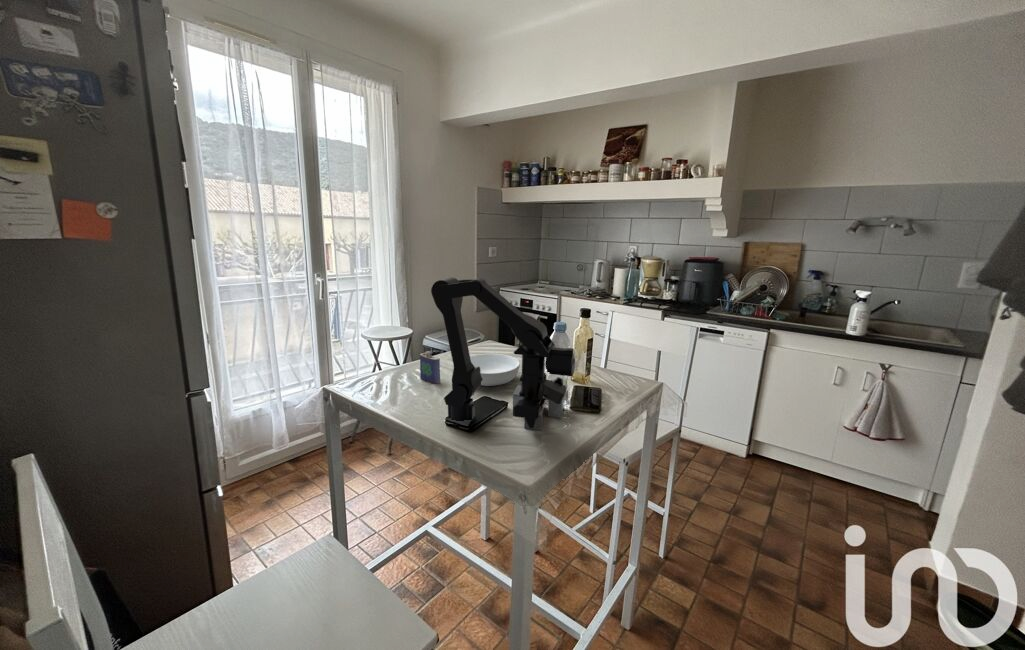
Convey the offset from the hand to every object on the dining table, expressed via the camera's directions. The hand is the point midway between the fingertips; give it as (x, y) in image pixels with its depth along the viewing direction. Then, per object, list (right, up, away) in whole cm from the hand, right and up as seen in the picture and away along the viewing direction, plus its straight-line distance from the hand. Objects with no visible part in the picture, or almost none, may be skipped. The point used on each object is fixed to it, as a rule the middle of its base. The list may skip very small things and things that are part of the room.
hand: (531, 427), depth 106 cm
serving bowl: (-13, +7, +35) cm, 38 cm away
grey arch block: (+3, +2, +13) cm, 13 cm away
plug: (+2, +1, +9) cm, 9 cm away
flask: (-34, +7, +34) cm, 48 cm away
